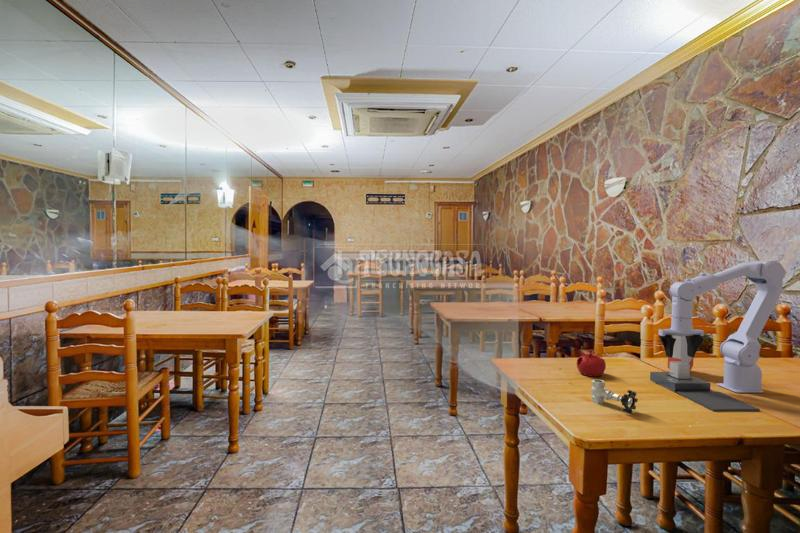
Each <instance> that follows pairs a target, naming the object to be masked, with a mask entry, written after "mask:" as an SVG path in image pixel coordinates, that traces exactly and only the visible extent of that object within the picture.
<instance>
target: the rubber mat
mask: <svg viewBox="0 0 800 533" xmlns="http://www.w3.org/2000/svg"><path fill="white" fill-rule="evenodd" d="M676 394H677V395H679V396H682V397H684V398H686V399H687V398H688V400H689V399H690V400H689V401H691V400H692V401H691V402H693V401H694V403H695V402H696V404H697V403H698V405H699V404H700V405H699V406H701V405H702V406H701V407H703V406H704V407H703V408H706V409H708V410H710V411H712V412H760V408H758V407H756V406H753V405H751V404H749V403H747V402H744V401H742V400H740V399H737V398H735V397H732V396H730V395H728V394H725V393H723V392H721V391H710V392H676Z"/></svg>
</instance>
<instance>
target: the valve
mask: <svg viewBox="0 0 800 533" xmlns="http://www.w3.org/2000/svg"><path fill="white" fill-rule="evenodd" d="M605 383H606V381H605V380H603V379H599V378H598V379H597V378H594V379H592V384H591V385H592V386H591V388H590V393H591V402H592V403H594V404H597V405H605V400H607V401H611V400H614V401H615V402H620V403H621V405H622V406H623V407H624V408H623V409H622V411H623V412H625V413H626V414H632V413H633V410H636V408H637V406H636V405H635V404H636V403H638V401H639V400H638V398H637V392H635V391H633V390H631V389H628V390H627V393H628V394H626V393H625V394H623V396H621V395H620V394H617V393H613V391H612V390H611V389H608V388H607V389H606V388H605Z"/></svg>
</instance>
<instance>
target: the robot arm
mask: <svg viewBox="0 0 800 533" xmlns="http://www.w3.org/2000/svg"><path fill="white" fill-rule="evenodd" d="M786 274H787V271H786V269H785V268H784V266H783V265H782V263H781V262H779V261H777V260H755V259H750V260H747V261H744V262H740V263H738V264H735V265H734V266H731V267H729V268H727V269H726V268H725V269H724V270H721V271H719V272H717V273H714V274H711V273H709V272H701V273H699V274H698V275H697V276H695V277H692V278H685V279H684V281H675V282H674V283H672V285H670V288H669V289H668V294H669V295H670V297H671V301H672V302H671V322H670V323H671V324H670V328H664V329H663V328H662V329H660V328H659V329H658V334H657V335H658V339H659V340H660V341H661V342H662V346H663V348H664V352H665V356H666V357H667V358H668V357H672V356H673V348H674V344H675V341H676V339H675V338H673V337H672V336H685V337H686V341H687V355H688V356H690V357H694V358H695V355H696V352H697V351H698V348H699V346H700V345H701V344H702V342H704V336H705V330H702V329H697V328H696V329H695V328H694V329H692V327H693V305H694V302H693V301H694V300H695V299H696V298H697V296H698V295H701V294H704V293H706V292H711V291H713V290H716V289H717V288H718V286H719V284H722V283H726V282H729V281H732V280H736V279H738V278H741V277H745V278H746V279H748V281H750V282H751V283H752V284H753V285H754V286H755V287H756V288H755V289H757V291H756V294H755V296H754V298H753V300H752V302H751V304H750V306H749V308H748V309H747V311H746V313H745V315H744V317H743V320H742V321H741V323H740V325H739V327H738V328H737V331H736V332H733V333H731V334H730V335H729V336H728V337H727V339H726V340H724V341H723V342H722V343H721V344H720V346H719V352H720V354H721V355H722V356H723V360H724V361H723V362H724V365H723V382H717V383H716V385H717V386H720V387H722V388H723V389H724V388H725V389H726V390H729V391H731V392H734V393H738V394H739V393H740V394H741V393H742V394H743V393H752V394H753V393H760V394H761V393H764V390H762V381H763V380H762V378H763V374H762V373H763V372H762V370H761V368H760V366H759V365H758V364H757V362H758V361H759V359H760V350H761V348H762V346H761V344H760V342H759V340H758V338H760V335H761V333H762V331H763V330H764V328H765V326H766V324H767V322H768V320H769V318H770V315H771V314H772V312H773V310H774V308H775V306H776V304H777V303H778V300H779V298H780V296H781V294H782V293H783V288H784V287H783V285H784V284H783V282H784V278H785V276H786Z"/></svg>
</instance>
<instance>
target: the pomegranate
mask: <svg viewBox="0 0 800 533" xmlns="http://www.w3.org/2000/svg"><path fill="white" fill-rule="evenodd" d="M600 356H602V355H601V354H600V353H595V352H593V350H592V349H589V350H588V351H585V353H583V352H582V353H580V354H579V358H577V360H576V368H577V370H578V372H579V373H580V374H581V375H583V376H587V377H600V376H602V375H603V374H604V372H605V371H606V369H607V368H606V366H607V364H606V361H605V359H604V358H601V357H600Z"/></svg>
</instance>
